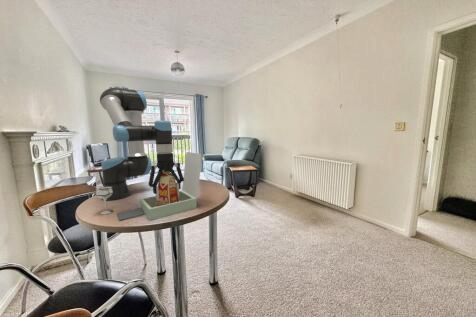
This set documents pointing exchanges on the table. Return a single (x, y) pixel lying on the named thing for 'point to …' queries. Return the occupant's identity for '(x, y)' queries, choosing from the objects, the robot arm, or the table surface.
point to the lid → (192, 173)
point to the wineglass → (104, 196)
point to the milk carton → (167, 189)
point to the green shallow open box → (167, 206)
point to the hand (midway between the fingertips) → (167, 197)
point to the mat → (130, 214)
